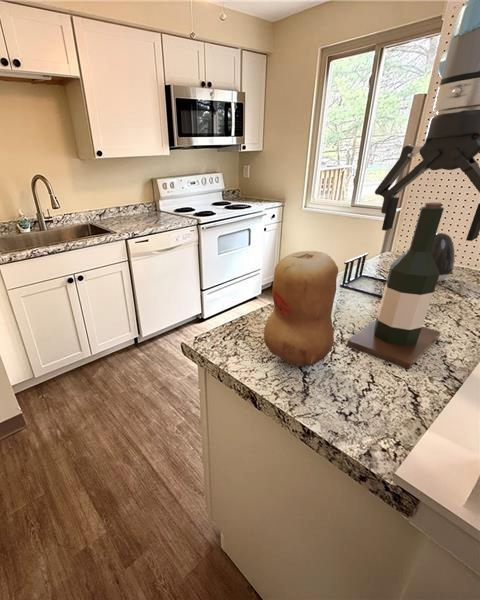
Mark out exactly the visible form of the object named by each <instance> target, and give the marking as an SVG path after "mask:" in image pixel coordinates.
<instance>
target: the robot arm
mask: <svg viewBox="0 0 480 600" xmlns="http://www.w3.org/2000/svg"><path fill="white" fill-rule="evenodd" d="M449 38H450V39H449V45H448V47H447V48H446V49H445V51H444V52H443V53H442V55H441V57H440V60H439V62H438V68H437V69H438V70H437V71H438V75H439V76H440V83H439V86H438V90H437V93H436V98H435V102H434V104H433V105H434V106H433V109H432V111H433V112H434V113H436V115H433V116H432V117H431V118H430V121H429V124H428V128H427V132H426V136H425V141H424V142H423V145H416V144H408V145H404V146H403V148H402V150H401V153H400V155H399V157H398V159H397V160H396V162H395V163H394V165H393V166H392V167H391V169H390V170H389V171H388V173H387V175H386V176H385V177H384V178H383V180H382V181H381V182H380V184H379V185H378V186H377V187H376V189H375V190H374V194H375V195H376V196H381V197H382V198H383V202H382V206H381V210H380V212H381V214H384V217H383V221H382V222H383V223H382V226H381V227H382V228H381V231H386V232H387V231H388V230H391V229H393V226H394V221H395V218H396V213H397V209H398V205H399V200H400V196H397V195H398V194H399V193H400V192H401V191H403V190H404V189H405V188H406V187H408V186H409V185H410V184H411V183H412V182H414V181H415V180H416V179H417V178H419V177H420V176H421V175H423V174H424V172H426V171H428V170H431V171H439V170H445V171H454V170H458V169H460V171H461V172H463V173H464V174H465V176H466V177H467V178H468V179H469V181H470V182H471V183H472V185H473V186H474V188H475V189H476V190H477V191H478V193H479V194H480V165H479V163H478V161H477V160H476V158H474V157H476V156H477V155H478V154H480V0H467V1H466V2H465V3H464V4H463V5H462V6H461V8H460V10H459V12H458V15H457V17H456V20H455V23H454V26H453V30H452V33H451V35H450V37H449ZM418 154H419V155H420V157H421V159H422V160H421V161H420V162H419V163H418V164H417V165H415V166H414V167H413V168H412V170H410V171H409V172H408V173H407V174H406V175H405V176H403V177H402V178H401V179H400V180H399V181H398V182H396V183H395V181H396V180H397V179H398V177H399V176H400V175H401V174H402V172H403V171H404V170H405V168H406V167H408V165H409V163H410V162H411V160H412V159H413V158H415V157H416V156H417V155H418ZM394 183H395V184H394ZM392 185H393V186H392ZM391 186H392V187H391ZM479 234H480V202H479V203H478V204H477V207H476V210H475V213H474V215H473V219H472V221H471V224H470V227H469V230H468V232H467V235H466V239H465V241H467V242H468V241H469V242H473V241H474V240H477V239H478V237H479Z"/></svg>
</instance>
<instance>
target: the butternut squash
mask: <svg viewBox="0 0 480 600" xmlns="http://www.w3.org/2000/svg"><path fill="white" fill-rule="evenodd" d="M273 272H274V273H273V280H272V291H271V294H272V295H271V296H272V300H273V305H274V307H273V310H272V312H271V314H270V315H269V317H268V318H267V321H266V323H265V325H264V330H263V341H264V344H265V346H266V347H267V349H268V350H269V351H270V352H271V353H272V354H273V355H275V356H277V357H278V358H280V359H281V360H283V361H285V362H286V363H288V364H290V365H296V366H301V367H303V366H306V367H311V366H314V365H316V364H318V363H319V362H321V361H322V360H323V359H325V358H327V356H328V354H330V353H331V352H332V350H333V346H334V342H335V339H334V338H335V331H334V326H333V320H332V314H333V308H334V302H335V297H336V293H337V279H338V275H339V267H338V265H337V264H336V261H334V259H333V257H331V255H329V254H328V253H326V252H322V251H318V250H302V251H297V252H292V253H290V254H288V255H286V256H284V257H283V258H281V259H280V260H279V261H278V262H277V263H276V265H275V266H274V271H273Z"/></svg>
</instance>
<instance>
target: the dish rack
mask: <svg viewBox="0 0 480 600" xmlns="http://www.w3.org/2000/svg"><path fill="white" fill-rule="evenodd" d="M368 255H369V253H368V252H366V253H364V254H361V255H358V256H356V257H354V258H351V259H349V260H346V261H344V263H343V264H344V265H345V267H344V273H343V277H342V282H341V283H339V287H340V288H344V289H347V290H349V291H354V292H358V293H361V294H365V295H368V296H372V297H375V298H378V299H382V297H383V294H380V293H377V292H373V291H370V290H366V289H362V288H358V287H355V286H351V285H349V284H350V283H353V282H355V281H357V280H359V279H361V278H367V279H369V280H375V281H379V282H383V283H386V282H387V278H382V277H378V276H374V275H370V274H365V273H363V272H364V267H365V263H366V258H367V256H368ZM355 261H357V264H356V267H355V268H356V269H355V273H354V277H352V274H353V268H354V263H355Z"/></svg>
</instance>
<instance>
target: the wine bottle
mask: <svg viewBox="0 0 480 600" xmlns="http://www.w3.org/2000/svg"><path fill="white" fill-rule="evenodd" d="M442 206H443V203H441V202H425V203H424V206H421V207H420V211H419V214H418V218H417V221H416V224H415V228H414V232H413V235H412V239H411V242H410V246H409V248H408V249H407V250H406V251H405V252H404V253H402V254H401V255H400V256H399V257H398V258H397V259H395V260H394V261H393V262H392V263H391V264H390V266H389V269H388V274H387V278H386V279H387V282H385V285H384V290H383V293H382V295H383V297H382V298H381V302H380V305H379V308H378V312H377V316H376V319H377V320H376V324H375V328H374V336H376V337H377V338H379V339H381V340H383V341H384V342H386V343H390V344H396V345H401V346H407V345H412V344H416V343H417V341H418V338H419V335H420V332H421V329H422V327H424V326H423V325H424V323H425V320H426V317H427V314H428V310H429V307H430V305H431V302H432V299H433V296H434V294H435V290H436V287H437V284H438V282H437V281H438V278H439V275H440V272H439V270H438V267H437V265H436V263H435V260H434V258H433V256H432V253H431V248H432V245H433V242H434V239H435V235H436V234H437V232H438V228H439V226H440V222H441V219H442V216H443V214H444V210H445V208H444V207H442Z"/></svg>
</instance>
